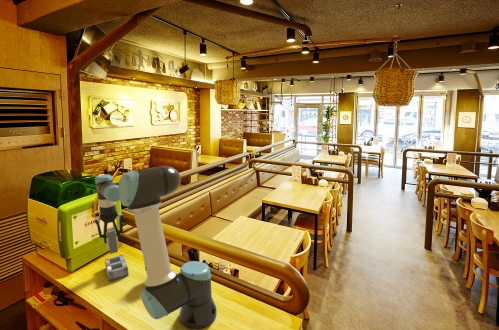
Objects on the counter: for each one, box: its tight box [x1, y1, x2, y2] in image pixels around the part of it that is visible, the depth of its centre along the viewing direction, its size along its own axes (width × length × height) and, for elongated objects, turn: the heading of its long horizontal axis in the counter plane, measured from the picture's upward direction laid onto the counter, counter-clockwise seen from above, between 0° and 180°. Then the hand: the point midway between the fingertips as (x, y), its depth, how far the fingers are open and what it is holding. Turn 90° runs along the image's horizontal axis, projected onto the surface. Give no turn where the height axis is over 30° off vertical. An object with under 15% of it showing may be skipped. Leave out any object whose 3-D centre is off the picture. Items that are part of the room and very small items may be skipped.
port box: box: [104, 254, 130, 283], centre depth 148 cm, size 14×9×5 cm, turn 33°
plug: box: [106, 226, 119, 255], centre depth 148 cm, size 4×4×13 cm
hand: (113, 246), depth 149 cm, fingers closed on plug, 4 cm apart
